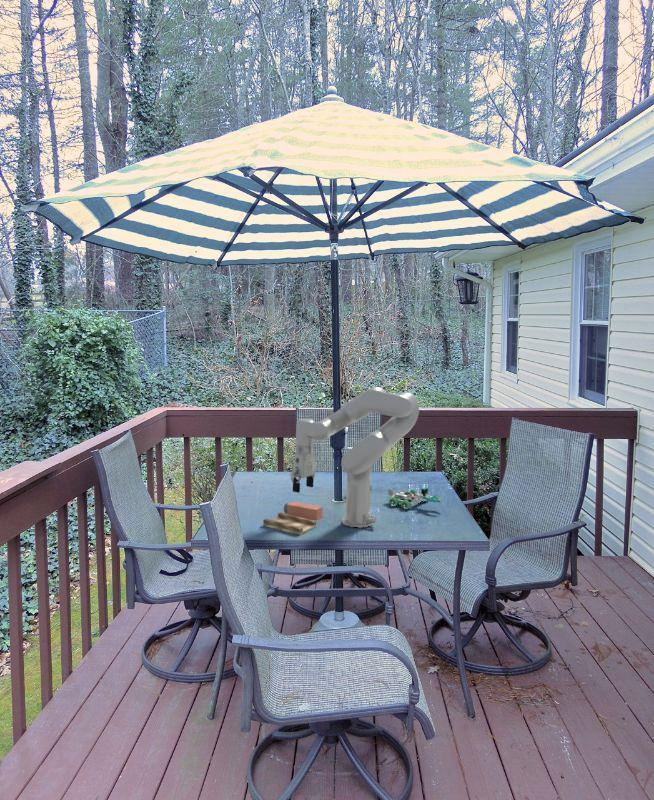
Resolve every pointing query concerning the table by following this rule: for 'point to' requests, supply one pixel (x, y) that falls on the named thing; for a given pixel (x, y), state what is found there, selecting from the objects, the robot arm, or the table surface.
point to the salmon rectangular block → (304, 510)
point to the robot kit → (411, 497)
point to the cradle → (290, 523)
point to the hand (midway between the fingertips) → (303, 489)
